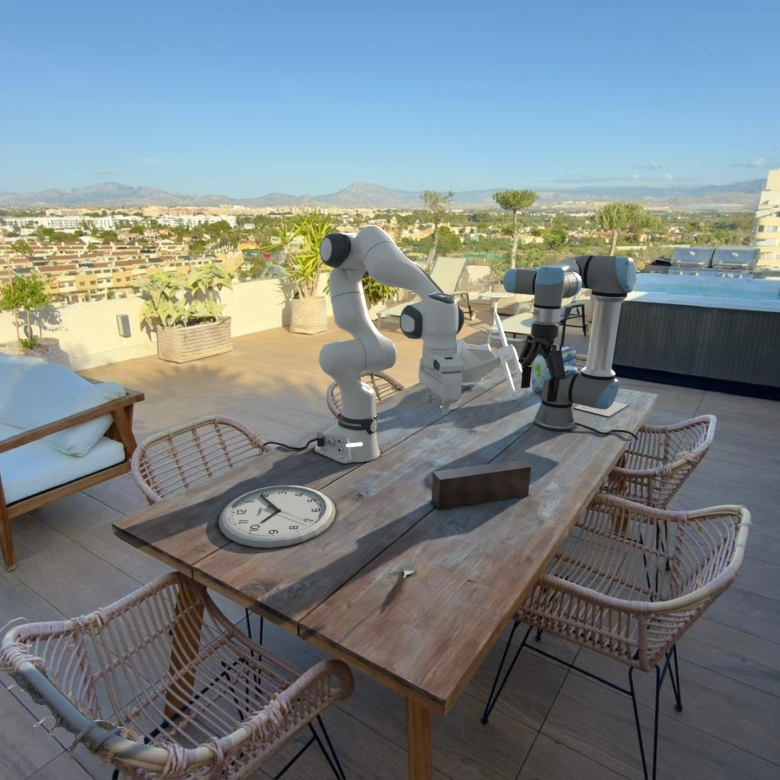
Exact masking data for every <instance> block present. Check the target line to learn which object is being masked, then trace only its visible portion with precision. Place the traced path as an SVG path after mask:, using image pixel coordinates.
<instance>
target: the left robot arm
mask: <svg viewBox="0 0 780 780" xmlns="http://www.w3.org/2000/svg"><path fill="white" fill-rule="evenodd" d="M319 256H320V259H321V261H322V263H323V264H324V265H325V266H327V267H330V268H332V269H331V270H330V272H329V276H328V286H329V298H330V304H331V310H332V315H333V319H334V323H335V325H336V326H337V327H338V328H339V329H340V330H343V331H344V332H347V333H348V334H349V335H350V336H352V338H353V339H345V340H335V341H331V342H329V343H325V344H324V345H323V346H322V347H321V349H320V350H319V353H318V364H319V366H320V368H321V370H322V371H323V372H324V374H326V375H327V376H329V377H330V378H331V379H332V380H333V381H334V382H335V383H336V385H337V386H338V389H339V392H340V398H341V399H340V400H341V412H339V413H337V414H336V415H335V418H334V419H335V420H337V419H338V420H337V422H336V423H334V424H333V425H331V426H330V427H328V428H327V429H326V430H325V431H324V432H322V431H318V432H316V438H313V439H311V440H308V441H307V442H306V445H304V446H302V447H297V446H290V445H287V444H286V443H282V442H277V441H267V442H265V443H263V444H262V447H265V446H267V445H276V446H280V447H281V446H282V447H284V448H287V449H289V450H296V451H297V450H298V451H300V450H306V449H307V448H308V447H309V445H310V444H312V443H314V442H316V445H315V446H314V452H315V453H318V454H320V455H322V456H324V457H326V458H329V459H332V460H334V461H335V462H338V463H339V464H343V465H345V464H352V463H365V462H370V461H373V460H376V459H377V458H379V456H380V455H381V450H380V447H379V443H378V436H377V429H378V414H377V411H376V409H377V406H376V405H377V394H376V391H375V389H374V387H372V386H371V385H370V384H367V383H366V382H362V381H361V379H360V376H361V374H370V373H371V374H372V373H378V372H379V373H380V372H383V371H385V370H388V369H389V370H390V369H391V368H393V367H394V366H395V364H396V362H397V361H398V360H397V359H398V350H397V347H396V345H395V343H394V342H393V341H392V340H391V339H390V338H388V337H386V336H385V335H383V334H382V333H381V332H380V331H379V329H377V327H376V326H375V324H374V322H373V321H372V319H371V316H370V313H369V308H368V305H367V301H366V295H365V291H364V287H363V277H364V275H365V276H366V277H371V278H372V279H373V280H374V281H375V282H376V283H377V284H380V285H381V286H386V287H392V288H398V289H404V290H407V291H410V292H413V293H414V294H416V295H417V296H418V297H419V298H420V299H421V300H420V301H417V302H413V303H410V304H406V305H405V306H404V307H403V309H402V311H401V312H400V316H399V328H400V330H401V332H402V334H403V335H404V336H405V337H406V338H408V339H410V340H422V342H423V343H422V354H421V357H420V360H419V364H418V365H419V366H418V377H417V378H418V382H419V383H421V385H423V386H424V390H425V391H424V392H425V396H426V399H425V401H426V402H427V403H429V404H433V403H435V395H436V396H437V397H439V398H440V399H441V406H439V412H440V413H441V414H442V415H448V414H449V410H450V406H451V405H452V403H456V402H459V400H460V399H461V396H462V387H463V383H462V373H461V372H460V371H463V370H464V363H463V361H462V360H461V358H460V357H459V355H458V352H457V343H456V339H457V335H458V334H459V333H460V332H461V330H462V329H463V326H464V324H465V313H464V310H463V308H462V306H461V305H460V304H459V303H458V300H457V298H456V297H454V296H453V295H452V294H449V293H445V291H443V289H442V288H441V287H440V286H439V285H438V284H437V283H436V282H435V281H434V279H432V277H431V276H430V275H429V274H428V273H427V272H426V271H425V269H423V268H422V267H421V266H419V265H418V264H417V263H415V262H413V261H412V260H411V259H410V258H409V257H407V256H406V255H405V254H404V253H403V252H402V251H401V250H400V248H399V247H398V245H397V244H396V243H395V241H393V239H392V238H391V237H390V235H388V233H387V232H386V231H385V230H384V229H382V228H381V227H379V226H378V225H374V224H373V225H372V224H371V225H367V226H365V227H364V226H363V228H361V229H360V230H359V231H358V233H347V232H344V233H343V232H339V231H337V232H329V233H327V234H326V235H324V237H323V238H322V239H321V242H320V245H319ZM434 394H435V395H434Z"/></svg>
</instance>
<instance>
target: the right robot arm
mask: <svg viewBox="0 0 780 780" xmlns="http://www.w3.org/2000/svg"><path fill="white" fill-rule="evenodd" d="M636 282H637V267H636V264H635V261H634V260H633V259H632V258H631V257H629V256H622V255H621V256H620V255H599V254H584V255H583V254H582V255H576V256H571V257H567V258H563V259H560V260H559V261H557V262H556V263H551V264H545V265H540V266H535V267H528V268H518V267H516V268H508V269H507V270H506V271H505V273H504V276H503V283H502V284H503V288H504V290H505V291H506V292H507V293H509V294H514V295H526V296H527V295H529V296H533V297H534V298H533V307H532V308H533V309H532V321H533V322H532V323H531V325H530V334H528V335H526V337H525V343H524V346H523V348H522V350H521V352H520V355H519V356H518V359H519V360H518V362H519V363H520V365H521V368H522V380H521V382H520V388H521V389H522V388H528V389H530V388H531V382H532V372H533V365H532V364H533V363H534V359H535V358H536V357H537V355H538V354H540V355H541V356H543V358H544V359H545V360H546V363H547V367H548V369H546V371H545V375H544V379H543V380H544V381H543V391H542V394H541V402H540V405H539V407H538V410H537V411H536V413H535V416H534V424H535V425H536V426H537V427H539V428H542V429H544V430H549V431H556V432H567V431H572V430H574V429H575V428H576V426H578V427H581V428H583V429H584V428H585V429H587V430H590V431H594V432H595V433H596V434H599V435H601V436H603V435H605V436H608V435H610V434H611V433H625V434H628V435H630V436H632V437H633V438H634V439H635V440H639V438H638V436H637V435H636V433H635V434H634V433H633V432H631V431H630V430H625V429H615V428H614V429H610V430H608V431H606V432H605V431H600V430H598V429H596V428H593V427H591V426H588V425H586V424H582V423H579V422H576V418H575V417H576V416H575V413H574V407H573V405H574V404H576V405H584V406H589V407H593V408H595V409H596V408H598V409H604V410H605V409H608V408H609V407H610V406H611V405H612V404H613V402H615V400H616V398H617V396H618V393H619V389H620V380H618V379H617V378H615V377H616V372H615V371H614V370H613V368H612V366H613V362H614V361H613V360H614V355H615V354H614V352H615V346H616V342H617V341H616V340H617V334H618V327H619V320H620V316H621V315H620V314H621V308H622V302H623V301H624V300H626V299H627V298H628V294H630V293H632V292H633V291H634V290H635V287H636V286H635V285H636ZM581 289H584V290H585V289H586V290H591V293H590V294H591V297H592V298H593V300H594V306H593V314H592V320H591V328H590V335H589V341H588V350H587V357H586V364H585V366H584V367H583V368H581V369H580V372H578V368H577V366H575V367H574V366H564V363H563V358H562V346H563V345H562V343H556V342H555V339H556V338H558V337H559V331H560V325H559V323H560V322H561V314H562V305H563V299H570V298H572V297H574V296H576V295H578V294H579V293H580V291H581ZM550 353H551V354H550Z"/></svg>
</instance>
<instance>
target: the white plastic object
mask: <svg viewBox="0 0 780 780" xmlns="http://www.w3.org/2000/svg"><path fill="white" fill-rule="evenodd" d="M492 315H493V319H494V321H495V324H496V325H495V326H496V328H497V332H498V335H499V338H500V342H501V345H502V347H500V348H498V349H496V350H495V349H493V348H492V347H491V346H490V344H489V343H488V342H487V343H483V344H479V345H473V346H469V345H468V343H466V342H465V340H464V339H463V338H460V339H458V338H456V343H457V352H458V355H459V357H460V358H461V360H462V361H463V363H464V370H463V371H460V372H461V373H462V384H467V383H468V384H469V383H473V384H477V383H480V382H482V381H484V378H485V377H486V376H487V375H489V374H490V373H492V372H494V371H495V370H496V369H497V368H499V367H500V366H502V370H503V373H504V376H505V380H506V383H507V386H508V390H509V393H510V394H511V395H512V397H513V398H514V399H515V400H517V392H516V391H517V390H516V388H515V385H514V381H513V378H512V375H511V371H510V369H509V365H508V361H510V360H513V363H514V366H515V369H516V372H517V376H518V380H519V382H520V383H521V380H522V365H521V363H519V362H518V360H519V355H518V352H517V349H516V347H515V346H514V345H513V343H511V344H508V341H507V337H506V334H505V331H504V328H503V325H502V321H501V318H500V315H499V314H498V312H497V311H496V310H495V311H492ZM521 389H522V391H523V393H524V395H525V396H526V397H528V396H531V395H530V390H529V388H521Z"/></svg>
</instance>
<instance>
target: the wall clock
mask: <svg viewBox="0 0 780 780" xmlns="http://www.w3.org/2000/svg"><path fill="white" fill-rule="evenodd" d="M335 516H336V507H335V503H334V502H333V501H332V500H331V499H330V497H328V496H327V495H325V494H324V493H322V492H321V491H318V490H316V489H313V488H310V487H306V486H301V485H292V484H291V485H289V484H288V485H286V484H282V485H271V486H270V485H269V486H266V487H260V488H257V489H253V490H251V491H247V492H245V493H243V494H241V495H240V496H237V497H235V498H234V499H232V500H231V501H230V502H229V503H228V504H227V505H226V506H225V507H224V508H223V510H222V511H221V513H220V514H219V517H218V518H219V519H218V527H219V529H220V531H221V533H222V534H223V535H224V536H225V537H226V538H227V539H228V540H230V541H233V542H235V543H237V544H239V545H243V546H248V547H252V548H268V549H273V548H282V547H288V546H293V545H298V544H300V543H304V542H306V541H308V540H311V539H313V538H315V537H318V536H319V535H320V534H323V532H324V531H326V530H328V528H329V527H330V526H331V524H332V523H333V522H334V520H335Z"/></svg>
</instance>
